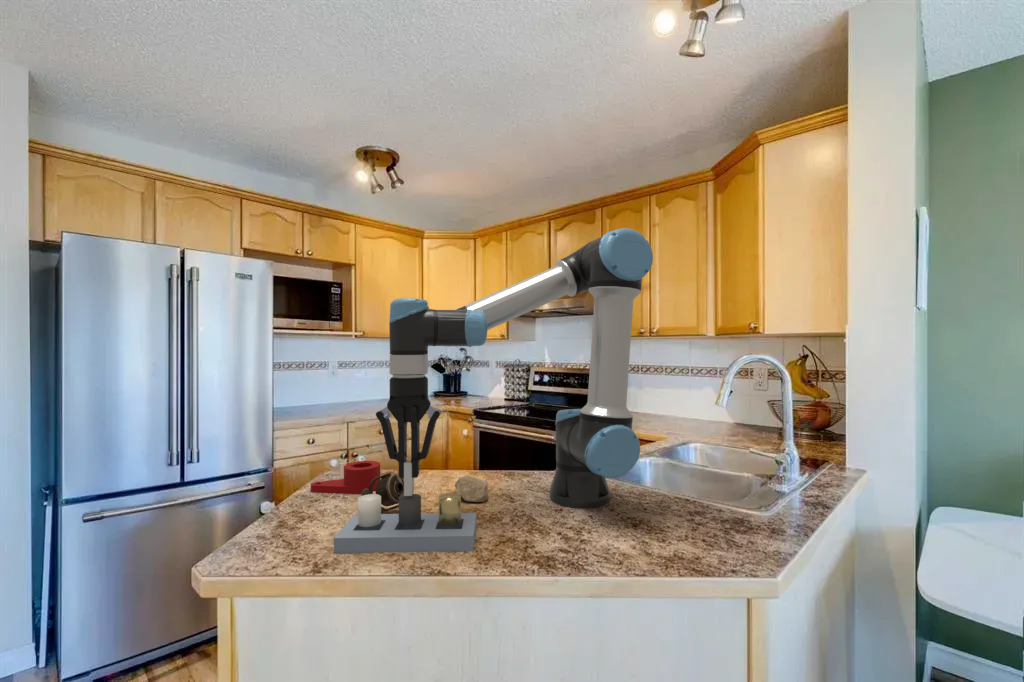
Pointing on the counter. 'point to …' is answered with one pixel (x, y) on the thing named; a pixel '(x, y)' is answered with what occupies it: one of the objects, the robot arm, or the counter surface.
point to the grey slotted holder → (407, 535)
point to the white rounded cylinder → (369, 510)
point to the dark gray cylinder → (409, 510)
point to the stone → (471, 489)
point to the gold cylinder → (449, 509)
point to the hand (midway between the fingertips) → (409, 493)
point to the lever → (351, 479)
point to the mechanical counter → (387, 489)
